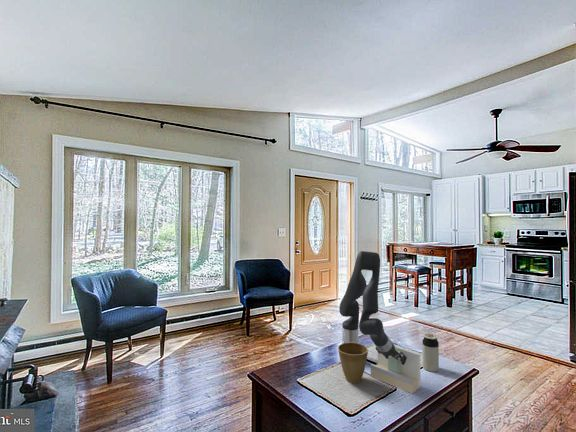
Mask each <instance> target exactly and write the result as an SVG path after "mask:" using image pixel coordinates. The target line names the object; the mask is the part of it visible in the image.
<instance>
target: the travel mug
mask: <svg viewBox="0 0 576 432" xmlns="http://www.w3.org/2000/svg"><path fill="white" fill-rule="evenodd" d="M422 336H423V339H422V368H423V369H424V370H426V371H428V372H430V373H434V372H435V373H436V372H438V371H439V367H440V366H439V365H440V364H439V362H440V361H439V359H440V357H439V353H440V352H439V351H440V349H439V347H440V346H439V340H438V338H439V336H438V335H437V334H434V333H431V332H425V333H423V334H422Z"/></svg>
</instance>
